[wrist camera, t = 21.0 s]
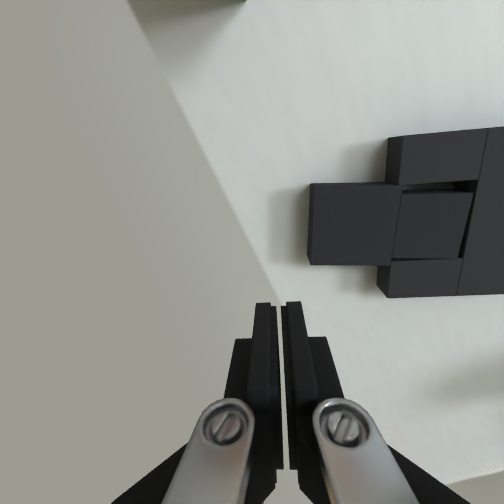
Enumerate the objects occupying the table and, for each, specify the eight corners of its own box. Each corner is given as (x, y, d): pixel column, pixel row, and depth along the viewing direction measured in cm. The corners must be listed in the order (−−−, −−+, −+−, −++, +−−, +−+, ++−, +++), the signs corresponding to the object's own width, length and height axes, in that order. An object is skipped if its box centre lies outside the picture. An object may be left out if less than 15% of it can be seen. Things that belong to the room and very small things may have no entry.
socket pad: (376, 284, 28) (387, 298, 25) (388, 137, 23) (402, 135, 20) (502, 279, 26) (527, 293, 24) (541, 124, 22) (579, 119, 19)
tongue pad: (306, 254, 27) (310, 265, 24) (310, 183, 25) (314, 186, 22) (437, 255, 26) (455, 266, 23) (453, 180, 24) (476, 184, 21)
